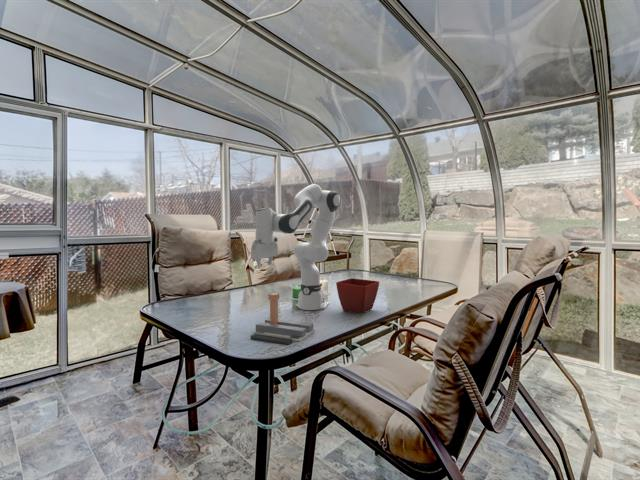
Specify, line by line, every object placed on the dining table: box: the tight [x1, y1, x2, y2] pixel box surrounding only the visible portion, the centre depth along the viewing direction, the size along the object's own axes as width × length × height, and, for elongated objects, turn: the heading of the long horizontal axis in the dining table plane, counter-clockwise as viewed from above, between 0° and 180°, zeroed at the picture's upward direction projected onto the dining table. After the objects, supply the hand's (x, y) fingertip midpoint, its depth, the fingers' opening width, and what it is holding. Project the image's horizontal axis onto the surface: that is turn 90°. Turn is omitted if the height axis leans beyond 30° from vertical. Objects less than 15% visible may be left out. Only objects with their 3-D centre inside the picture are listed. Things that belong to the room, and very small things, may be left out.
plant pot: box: [335, 277, 380, 314], centre depth 202 cm, size 19×19×17 cm
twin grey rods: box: [250, 334, 294, 345], centre depth 151 cm, size 4×20×2 cm, turn 67°
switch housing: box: [252, 317, 316, 342], centre depth 162 cm, size 16×24×4 cm
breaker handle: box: [268, 292, 280, 324], centre depth 164 cm, size 4×4×16 cm
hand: (264, 266), depth 178 cm, fingers open, 8 cm apart
